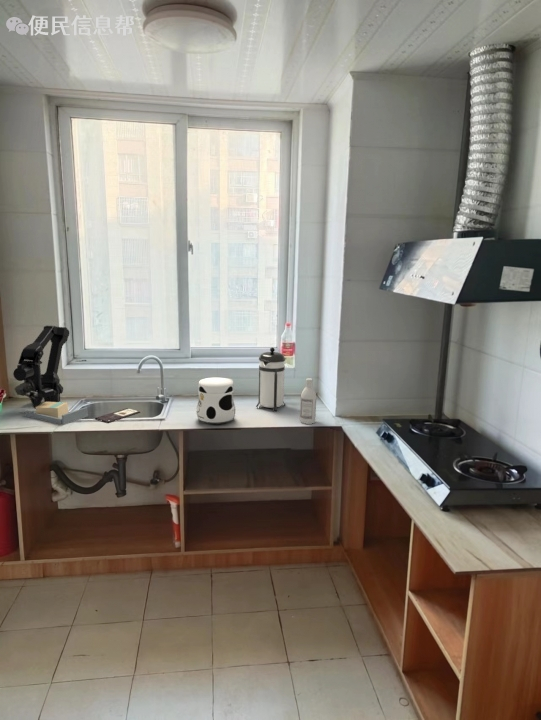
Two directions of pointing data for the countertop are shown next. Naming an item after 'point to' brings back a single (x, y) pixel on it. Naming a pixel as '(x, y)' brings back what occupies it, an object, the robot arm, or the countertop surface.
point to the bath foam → (308, 403)
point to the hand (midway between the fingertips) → (36, 409)
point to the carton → (52, 409)
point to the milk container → (215, 400)
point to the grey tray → (64, 418)
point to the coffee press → (271, 379)
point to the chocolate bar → (117, 415)
